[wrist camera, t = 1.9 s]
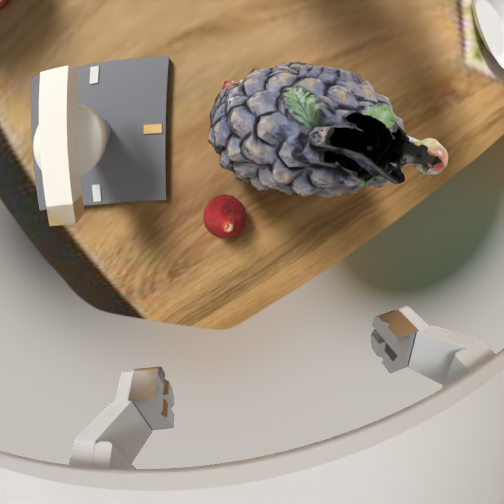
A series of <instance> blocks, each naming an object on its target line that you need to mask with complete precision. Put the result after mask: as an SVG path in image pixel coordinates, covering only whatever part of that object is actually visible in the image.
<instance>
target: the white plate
mask: <svg viewBox="0 0 504 504" xmlns="http://www.w3.org/2000/svg"><path fill="white" fill-rule="evenodd" d="M472 12H473V17H474V21H475V25H476V28H477V30H478V33H479V35H480V37H481V40H482V42H483V43H484V45H485V47H486V48H487V50H488V51H489V52H490V53H491V55H492V56H493V57H494V58H495V59H496V60H497V62H498V63H499V64H500V66H501V67H502V68H503V69H504V1H503V0H473V2H472Z"/></svg>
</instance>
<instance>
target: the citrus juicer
mask: <svg viewBox="0 0 504 504" xmlns="http://www.w3.org/2000/svg"><path fill="white" fill-rule="evenodd" d="M7 1H8V0H0V8H1V7H2V6H3V5H4V4H5V3H6V2H7Z"/></svg>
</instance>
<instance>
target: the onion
mask: <svg viewBox="0 0 504 504" xmlns="http://www.w3.org/2000/svg"><path fill="white" fill-rule="evenodd" d="M203 219H204V223H205V227H206V228H207V229H208V230H209V232H210V233H211V234H213V235H215V236H217V237H221V238H228V237H232V236H234V235H236V234H238V233H239V232H240V231H241V230H242V228H243V227H244V224H245V220H246V213H245V208H244V207H243V205H242V203H241V202H240V201H239V200H237V199H236V198H234V197H233V196H229V195H220V196H217V197H215V198H213V199H212V200H211V201H210V202H209V203H208V205H207V206H206V208H205V210H204V217H203Z"/></svg>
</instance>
